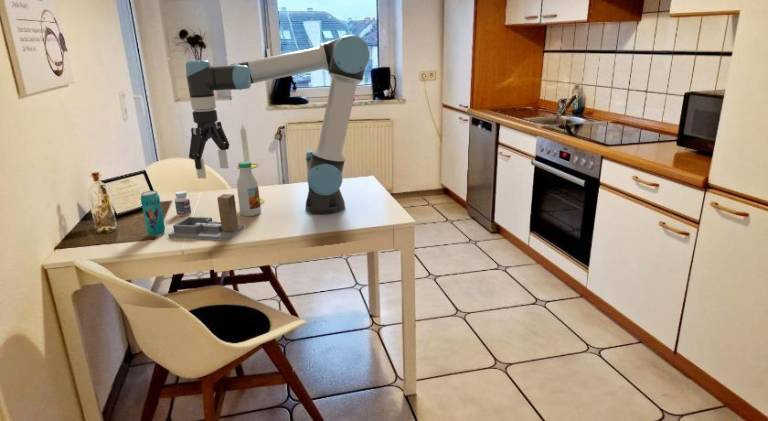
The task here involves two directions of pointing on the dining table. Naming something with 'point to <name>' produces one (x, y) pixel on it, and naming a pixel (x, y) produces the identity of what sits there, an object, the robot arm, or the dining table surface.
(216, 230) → the dock
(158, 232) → the beverage can
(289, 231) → the dining table surface
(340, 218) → the dining table surface
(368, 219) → the dining table surface
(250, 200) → the milk bottle
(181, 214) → the pill bottle
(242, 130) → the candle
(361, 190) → the dining table surface
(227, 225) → the lock pin
